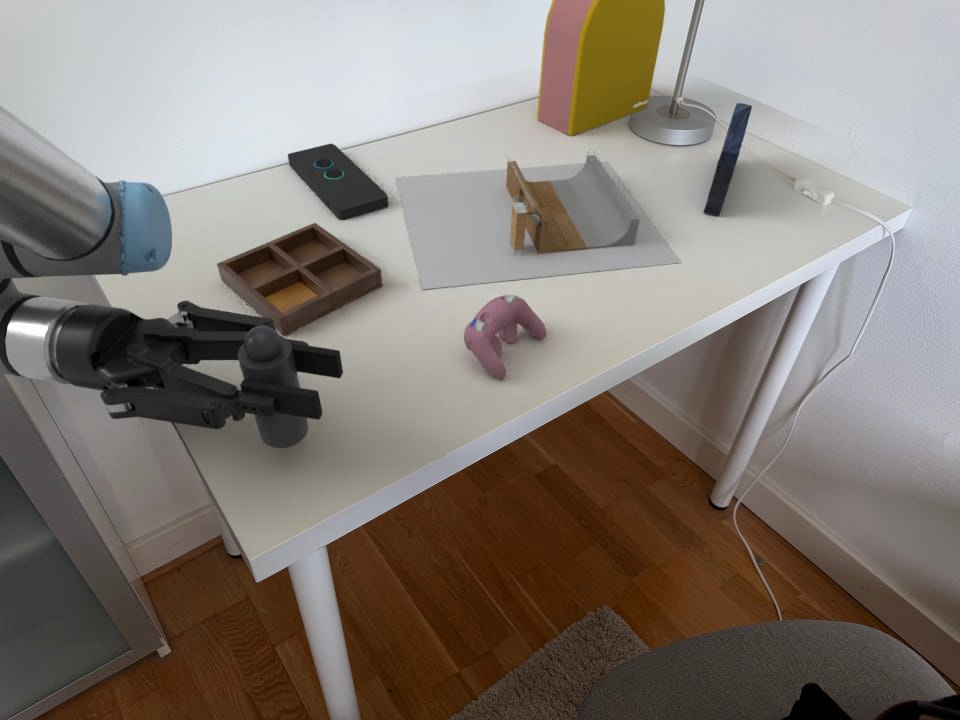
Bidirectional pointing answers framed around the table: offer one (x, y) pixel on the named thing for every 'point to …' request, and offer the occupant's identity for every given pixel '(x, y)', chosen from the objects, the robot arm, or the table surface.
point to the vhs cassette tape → (728, 159)
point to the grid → (300, 277)
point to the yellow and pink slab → (597, 61)
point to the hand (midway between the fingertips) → (329, 384)
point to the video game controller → (500, 330)
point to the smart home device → (337, 181)
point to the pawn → (272, 364)
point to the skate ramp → (526, 224)
